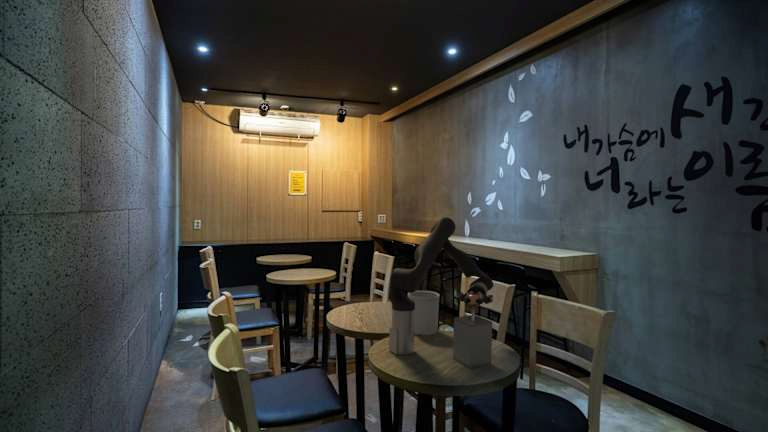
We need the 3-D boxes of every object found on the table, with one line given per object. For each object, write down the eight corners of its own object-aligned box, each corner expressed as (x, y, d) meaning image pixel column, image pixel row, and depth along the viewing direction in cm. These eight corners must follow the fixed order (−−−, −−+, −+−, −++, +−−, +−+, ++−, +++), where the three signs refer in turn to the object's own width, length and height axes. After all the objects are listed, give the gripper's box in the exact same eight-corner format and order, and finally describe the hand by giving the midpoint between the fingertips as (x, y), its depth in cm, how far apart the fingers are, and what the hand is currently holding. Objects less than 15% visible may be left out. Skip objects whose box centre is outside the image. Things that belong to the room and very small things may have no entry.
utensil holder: (437, 337, 185) (438, 298, 184) (404, 334, 188) (405, 296, 187) (439, 327, 199) (440, 291, 199) (409, 325, 202) (410, 289, 202)
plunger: (470, 361, 151) (472, 298, 151) (457, 354, 158) (459, 293, 158) (486, 358, 155) (488, 296, 154) (473, 351, 162) (475, 292, 161)
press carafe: (469, 368, 150) (470, 324, 149) (453, 358, 159) (454, 317, 158) (491, 364, 154) (492, 321, 154) (473, 355, 163) (475, 314, 163)
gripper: (460, 282, 172) (453, 290, 155) (495, 285, 167) (492, 293, 151) (459, 300, 172) (453, 310, 156) (495, 303, 167) (492, 314, 151)
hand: (472, 301), depth 153 cm, fingers closed on plunger, 4 cm apart
